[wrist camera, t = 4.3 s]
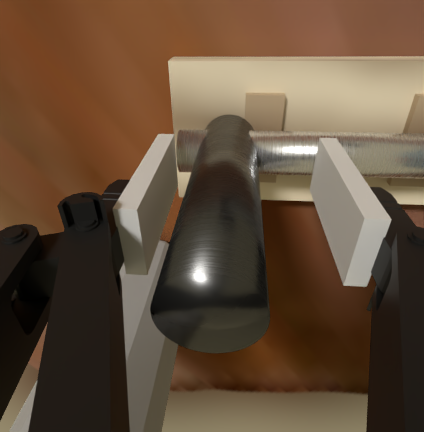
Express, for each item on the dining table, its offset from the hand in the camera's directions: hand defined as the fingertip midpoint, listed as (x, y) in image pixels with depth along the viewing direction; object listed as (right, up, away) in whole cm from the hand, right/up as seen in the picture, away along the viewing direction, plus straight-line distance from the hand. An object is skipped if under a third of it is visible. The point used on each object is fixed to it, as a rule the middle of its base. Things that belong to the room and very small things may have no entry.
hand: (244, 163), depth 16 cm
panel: (+4, +3, +4) cm, 6 cm away
